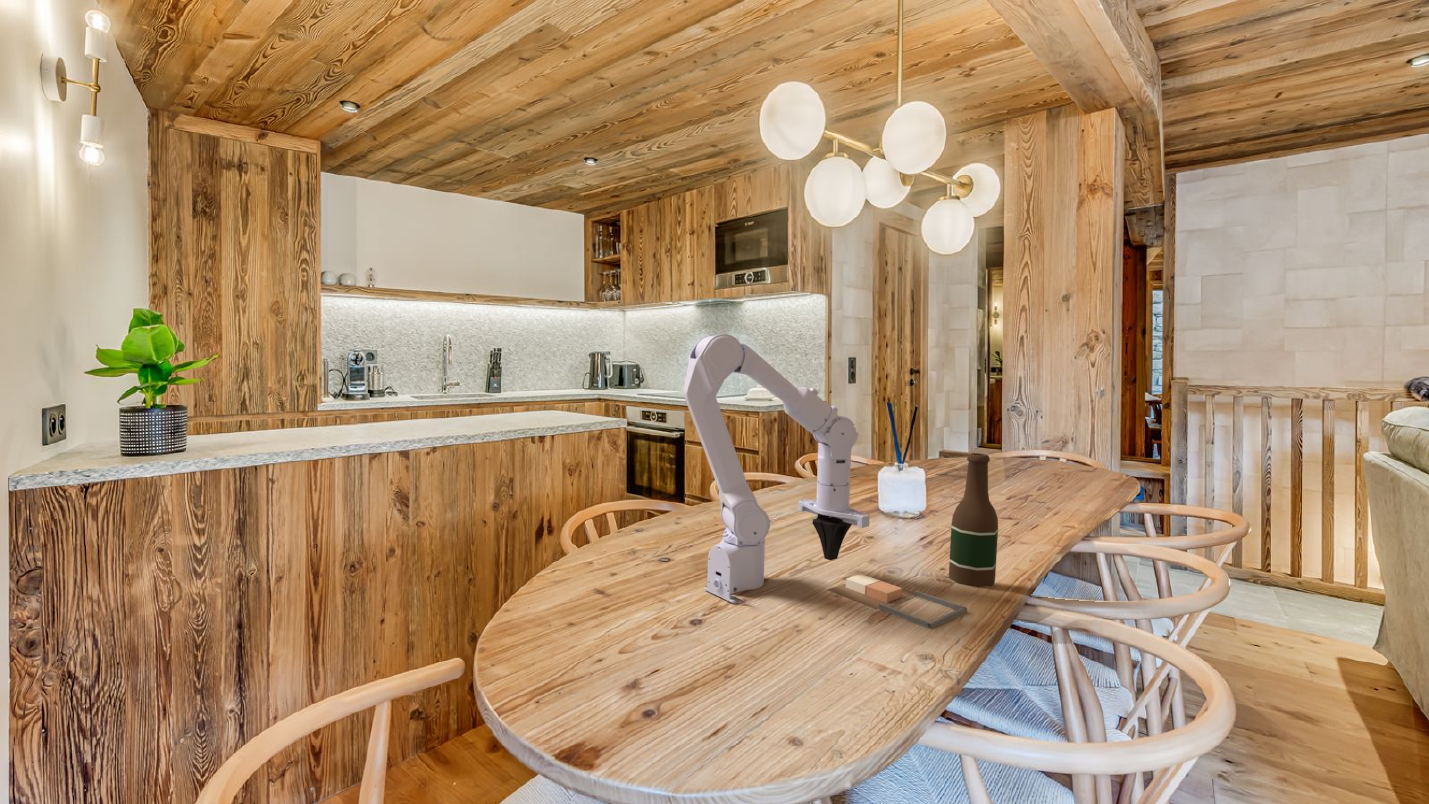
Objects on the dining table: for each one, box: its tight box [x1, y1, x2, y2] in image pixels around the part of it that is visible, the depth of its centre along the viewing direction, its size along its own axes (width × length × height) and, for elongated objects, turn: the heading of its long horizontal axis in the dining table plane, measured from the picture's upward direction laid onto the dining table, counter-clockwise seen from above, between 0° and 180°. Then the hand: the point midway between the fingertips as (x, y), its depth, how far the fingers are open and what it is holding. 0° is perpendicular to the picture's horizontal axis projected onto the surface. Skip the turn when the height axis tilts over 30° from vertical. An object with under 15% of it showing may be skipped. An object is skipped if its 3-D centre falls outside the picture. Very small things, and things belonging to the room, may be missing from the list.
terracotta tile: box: [866, 580, 903, 603], centre depth 105 cm, size 4×4×2 cm
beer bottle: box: [948, 452, 999, 588], centre depth 113 cm, size 8×8×24 cm
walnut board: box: [826, 582, 914, 610], centre depth 107 cm, size 11×10×2 cm
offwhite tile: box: [845, 573, 881, 594], centre depth 108 cm, size 4×4×2 cm
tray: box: [878, 590, 968, 629], centre depth 100 cm, size 10×9×2 cm
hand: (830, 558), depth 114 cm, fingers closed
